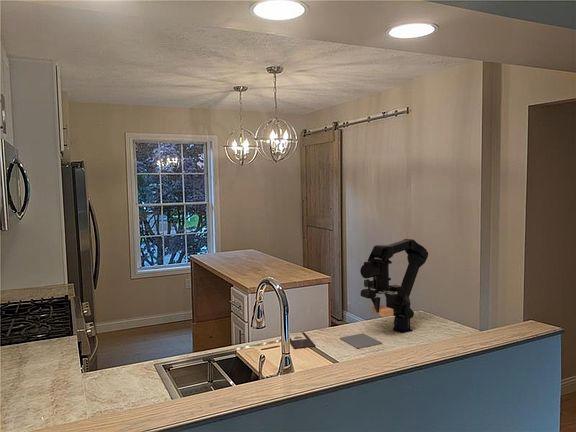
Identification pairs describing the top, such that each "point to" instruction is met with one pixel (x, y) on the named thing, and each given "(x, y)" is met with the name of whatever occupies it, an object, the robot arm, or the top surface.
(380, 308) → the tile
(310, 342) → the chocolate bar
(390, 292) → the robot arm
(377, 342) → the mat
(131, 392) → the top surface
